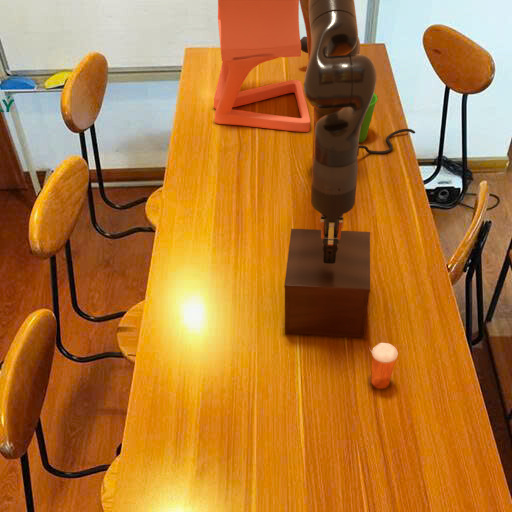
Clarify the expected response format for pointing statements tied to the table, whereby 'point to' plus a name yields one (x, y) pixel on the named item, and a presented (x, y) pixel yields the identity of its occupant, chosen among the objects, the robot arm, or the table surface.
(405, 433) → the table surface
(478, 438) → the table surface
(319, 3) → the robot arm
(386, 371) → the milkshake
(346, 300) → the chest
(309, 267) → the lid
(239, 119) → the chair
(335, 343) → the table surface
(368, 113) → the cup
